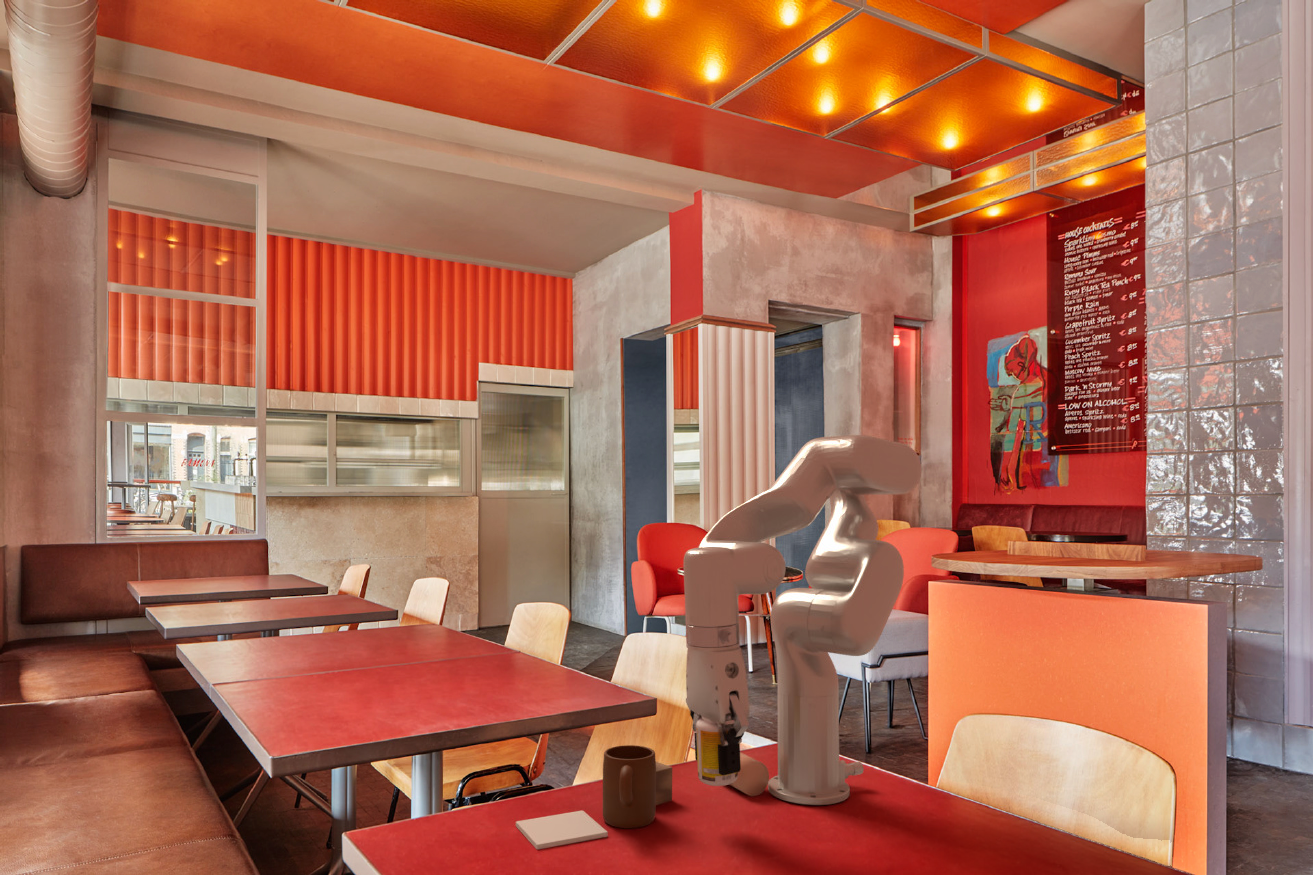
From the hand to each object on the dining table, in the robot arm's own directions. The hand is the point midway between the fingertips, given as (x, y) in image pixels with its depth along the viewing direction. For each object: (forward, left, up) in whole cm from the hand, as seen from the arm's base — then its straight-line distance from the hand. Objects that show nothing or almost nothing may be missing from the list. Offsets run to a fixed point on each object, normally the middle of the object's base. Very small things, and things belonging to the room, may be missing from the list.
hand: (717, 764), depth 118 cm
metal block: (+3, -15, -9) cm, 17 cm away
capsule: (-10, -13, -5) cm, 17 cm away
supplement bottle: (0, 0, -2) cm, 2 cm away
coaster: (+20, -9, -9) cm, 23 cm away
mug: (+11, -6, -9) cm, 15 cm away
